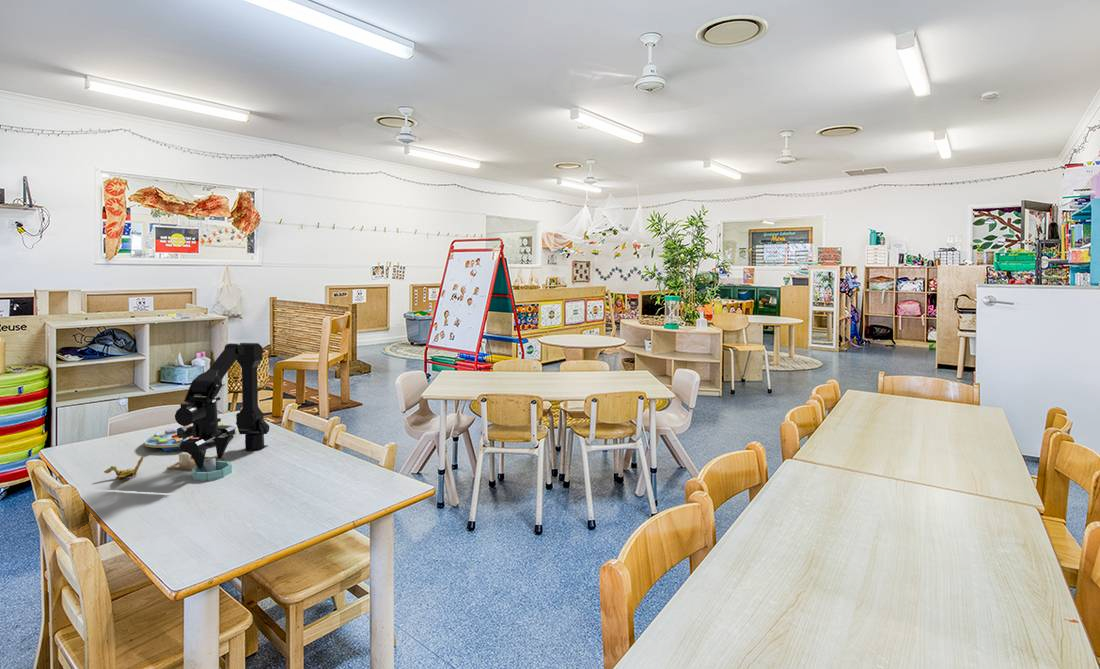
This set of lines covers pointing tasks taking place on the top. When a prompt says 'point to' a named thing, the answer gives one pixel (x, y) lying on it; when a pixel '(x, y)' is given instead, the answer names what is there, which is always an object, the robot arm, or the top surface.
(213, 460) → the grey rounded cylinder
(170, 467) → the parts tray
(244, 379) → the robot arm
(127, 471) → the olive plastic animal figure
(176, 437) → the shape sorting clock
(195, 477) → the bowl
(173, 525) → the top surface
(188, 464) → the sand beige cylinder
